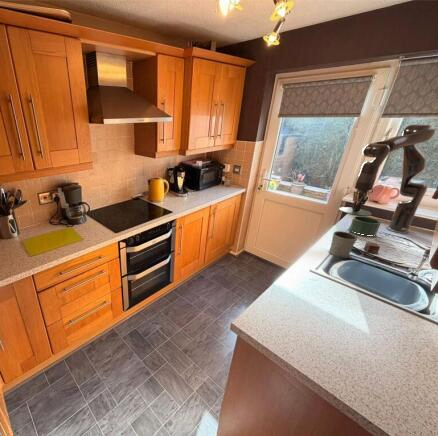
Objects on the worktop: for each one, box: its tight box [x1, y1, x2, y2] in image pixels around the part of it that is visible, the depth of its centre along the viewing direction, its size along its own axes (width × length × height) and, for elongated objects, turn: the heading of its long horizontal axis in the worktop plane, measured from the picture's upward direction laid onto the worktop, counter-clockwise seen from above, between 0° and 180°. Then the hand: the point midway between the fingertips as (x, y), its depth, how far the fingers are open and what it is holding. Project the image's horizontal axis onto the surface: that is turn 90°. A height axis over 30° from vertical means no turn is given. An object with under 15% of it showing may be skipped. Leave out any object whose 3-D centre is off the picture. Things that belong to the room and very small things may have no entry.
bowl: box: [338, 202, 373, 217], centre depth 135 cm, size 15×15×7 cm
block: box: [363, 241, 381, 255], centre depth 132 cm, size 5×5×5 cm
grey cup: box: [329, 230, 358, 259], centre depth 128 cm, size 10×10×12 cm
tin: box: [348, 215, 381, 238], centre depth 155 cm, size 14×14×10 cm
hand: (355, 209), depth 136 cm, fingers closed on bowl, 2 cm apart
